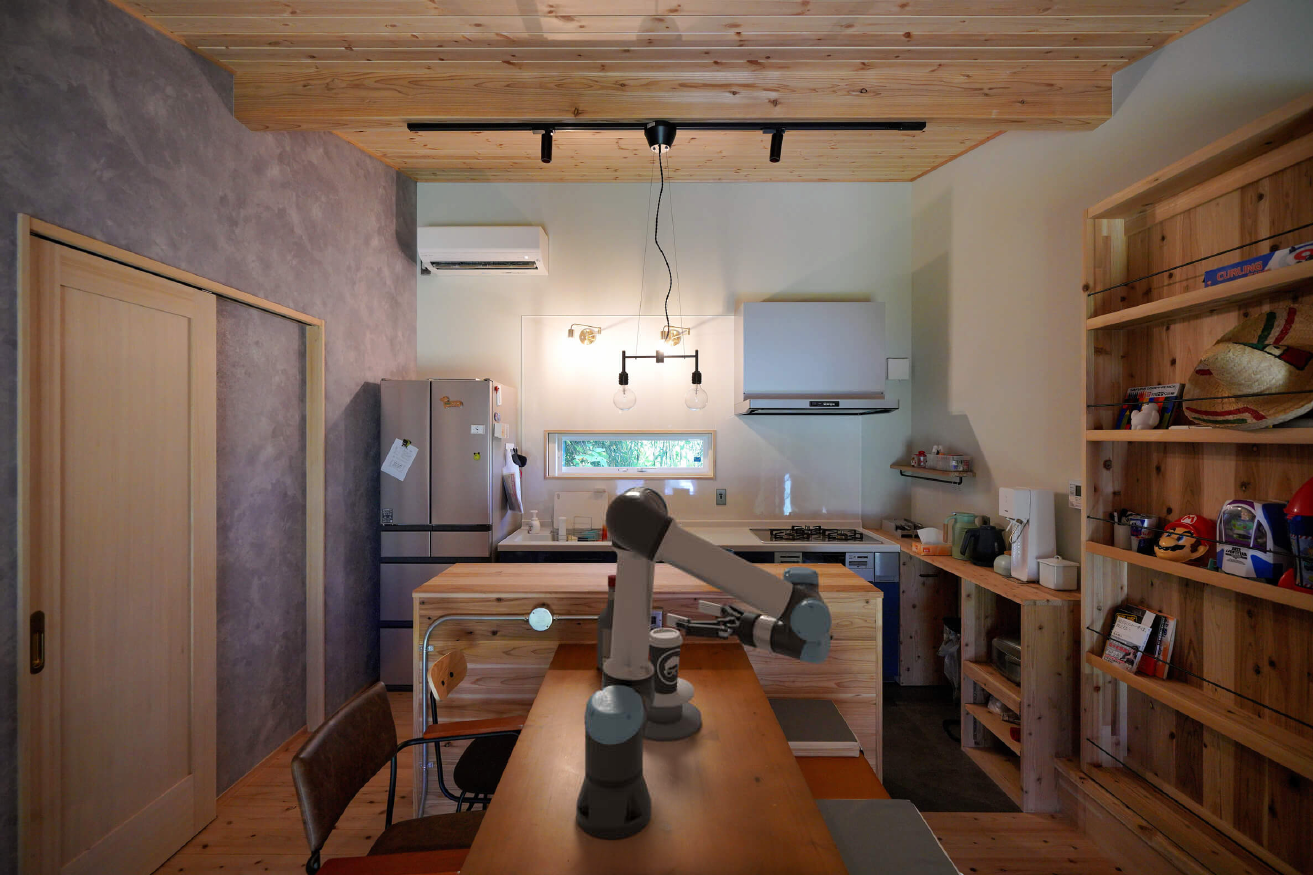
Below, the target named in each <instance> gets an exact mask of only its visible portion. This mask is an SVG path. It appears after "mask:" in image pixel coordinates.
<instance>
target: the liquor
mask: <svg viewBox="0 0 1313 875" xmlns="http://www.w3.org/2000/svg"><path fill="white" fill-rule="evenodd" d="M615 586H616V574H609V575H608V576H607V587H608V588H607V589H608V590H607V603H606V606H605V607H604V609H602V610H601V612H599V614H598V617H597V621H596V622H597V623H596V624H597V625H596V626H597V627H596V628H597V629H596V630H597V631H596V632H597V633H596V636H597V637H596V638H597V640H596V641H597V642H596V651H597V652H596V656H597V657H596V661H597V662H596V665H597V666H598V668H599V669H600V670H601V672H602V673H603V665H604V663H605V662H606V661H607V660H608V659H610V657H611V643H612V628H613V614H614V600H615Z"/></svg>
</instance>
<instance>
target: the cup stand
mask: <svg viewBox="0 0 1313 875" xmlns="http://www.w3.org/2000/svg"><path fill="white" fill-rule="evenodd" d="M694 696H695V689H694V686H693V685H692V683H690V682H689V681H688V680H686V679H683V678H681V677H678V681H677V690H676V691H675V692H674V693H671V694H659V693H656V692H655V698H654V703H653V705H652V708H651V711H650V714H649V718H648V721H647V724H646V728H645V732H644V736H643V739H647V740H651V741H656V742H657V741H658V742H671V741H678V740H683V739H685V738H688V737H690V736H693V735H694V734H696V733H697V731H699V730H700V728H701V726H702V713H701V711H700V709H699V708H698V707H697V706H696V705H694V704H692V703H691V702H690V701H691V700H692V699H693V698H694Z"/></svg>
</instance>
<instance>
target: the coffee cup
mask: <svg viewBox="0 0 1313 875" xmlns="http://www.w3.org/2000/svg"><path fill="white" fill-rule="evenodd" d="M683 642H684V640H683V636H682V635H681V633H680V631H679V630H678V629H676V628H672V627H659V628H655V629H654V628H653V630H650V642H649V661H650V663H651V664H652V665H653V666H654V681H653V682H654V687H655V692H656V693H659V694H671V693H674V692H675V691H676V690H677V681H678V678H679V670H680V668H679V667H680V657H681V656H680V655H681V649H682V647H681V645H682V644H683Z"/></svg>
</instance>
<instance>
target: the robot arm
mask: <svg viewBox="0 0 1313 875" xmlns="http://www.w3.org/2000/svg"><path fill="white" fill-rule="evenodd" d="M668 511H669V510H668V505H667V503H666V501H665V498H664V497H663V496H662V495H661V494H660V493H659V491H656V490H655V489H653V488H650V487H647V486H634V487H630V488H629V489H627V490H625V491H624V492H623V493H621V494H619V495H617V496H616V497H615V498H614V499H613V500H612V501H611V502H610V503H609V505H608V506H607V510H606V513H605V518H604V519H605V520H604V521H605V527H606V530H607V533H608V535H609V536H610V537H611V548H612V549H613V550H614V551H615V553H616V555H617V558H616V559H617V560H616V574H615V575H616V586H615V600H614V614H613V628H612V643H611V657H610V659H608V660H607V661H606V662H605V663H604V665H603V672H602V675H601V676H602V677H601V678H602V679H601V690H599V689H598V690H597V691H595V692H593V694H592V695H590V697H589V698H588V700H587V703H586V705H585V712H584V717H583V718H584V738H585V739H584V747H585V748H584V749H585V750H584V756H585V759H584V767H585V768H584V778H583V782H582V785H581V787H580V791H579V793H578V796H577V801H576V807H575V808H576V810H575V812H576V815H575V816H576V817H575V818H576V822H577V824H578V826H579V827H580V828H581V829H582V831H584V832H585V833H586V834H588V835H590V836H592V837H595V838H598V839H604V840H617V839H618V840H619V839H623V838H628V837H631V836H633V835H635V834H637V833H638V832H640V831H641V830H643V829H644V828H645V827H646V826H647V825H648V823H649V822H650V820H651V817H652V798H651V795H650V792H649V789H648V785H647V783H646V779H645V775H644V770H643V767H644V766H643V765H644V761H643V760H644V753H643V752H644V738H643V736H644V732H645V728H646V724H647V721H648V718H649V714H650V711H651V708H652V705H653V703H654V698H655V687H654V682H653V681H654V666H653V665H652V664H651V662H650V659H649V657H650V650H649V642H650V632H651V627H652V611H653V600H654V598H653V597H654V587H655V586H654V583H655V582H654V581H655V572H656V568H655V567H656V563H657V562H661V561H662V562H664V563H665V564H668V565H669V566H671V567H674V568H675V569H677V570H679V571H680V572H683V573H685V574H687V575H689V576H691V577H692V578H694V579H697V580H699V581H701V582H703V583H704V584H706V585H708V586H711V587H712V588H714V589H716V590H719V591H721V592H722V593H725V594H726V595H727V596H730V597H732V598H733V599H735V600H738V601H740V602H742V603H743V604H745V605H748V606H750V607H752V609H755V610H757V611H760V612H761V613H758V612H753V611H747V610H745V609H743V608H741V607H740V606H737V605H735V604H733V603H729V604H728V605H726V604H717V603H712V602H709V601H705V600H698V612H700V613H703V614H707V615H711V616H716V617H722V618H716V620H692V619H691V618H690V617H684V616H680V615H678V614H677V615H676V614H672V613H666V626H667V627H670V628H674V629H677V630H679V629H680V630H681V631H684V635H685V636H686V637H698V638H710V639H711V638H712V639H719V640H724V641H727V640H728V639H729V636H730V637H735V636H736V637H737V638H738V640H739V642H740V643H741V645H743V646H747V647H751V648H755V649H759V650H763V651H766V652H769V654H777V655H782V656H784V657H788V658H792V659H795V660H799V661H800V662H805V663H811V664H816V665H820V664H824V662H825V661H826V660H827V658H828V656H829V654H830V649H831V645H832V644H831V643H832V642H831V637H830V635H831V634H830V631H831V629H832V626H833V625H832V624H833V621H832V616H831V611H830V609H829V606H828V605H827V604H826V603H825V601H824V599H823V597H822V595H821V593H820V588H819V586H820V582H819V581H820V580H819V574H818V571H817V570H815V569H813V568H810V567H805V566H791V567H787V568H786V569H784V571H783V573H782V574H783V575H782V577H779V576H777V575H776V574H773V573H772V572H769V571H767V570H765V569H764V568H761V567H760V566H757V565H756V564H753V563H752V562H749V561H747V560H746V559H744V558H742V557H740V556H738V555H736V554H734V553H732V552H730V551H728V550H726V549H724V548H722V547H720V546H718V545H716V544H714V543H712V542H710V541H708V540H706V539H704V538H702V537H700V536H698V535H696V534H694V533H692V532H691V531H688V530H686V529H684V528H683V527H680V526H679V525H678V523H677V520H676V519H675V518H673V517H672V516H670V515H669V512H668ZM762 613H763V614H762Z"/></svg>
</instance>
